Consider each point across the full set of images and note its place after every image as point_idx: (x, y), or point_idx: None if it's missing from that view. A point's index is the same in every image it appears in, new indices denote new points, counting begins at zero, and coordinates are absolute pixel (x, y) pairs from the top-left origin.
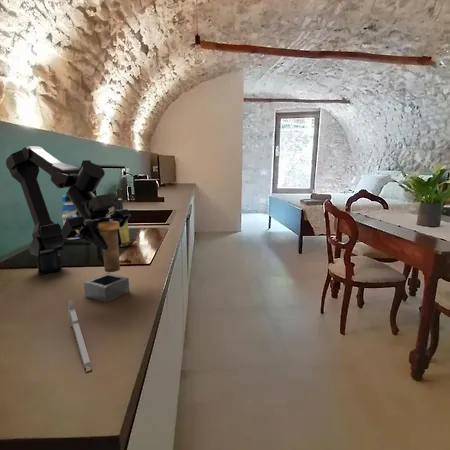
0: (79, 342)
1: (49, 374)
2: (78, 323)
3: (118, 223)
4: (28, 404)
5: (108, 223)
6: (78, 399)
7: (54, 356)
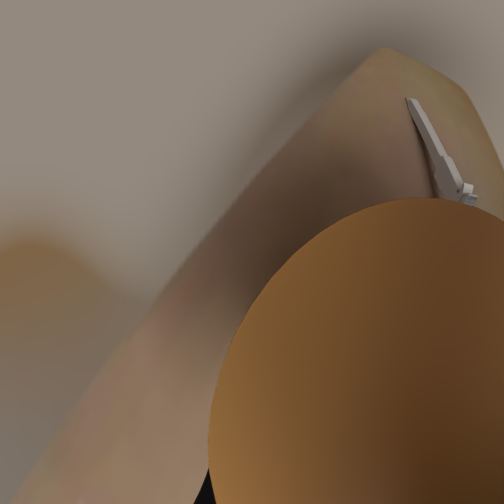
0: (429, 123)
1: (453, 125)
2: (439, 154)
3: (279, 275)
4: (459, 102)
5: (484, 358)
6: (415, 79)
7: (456, 153)
